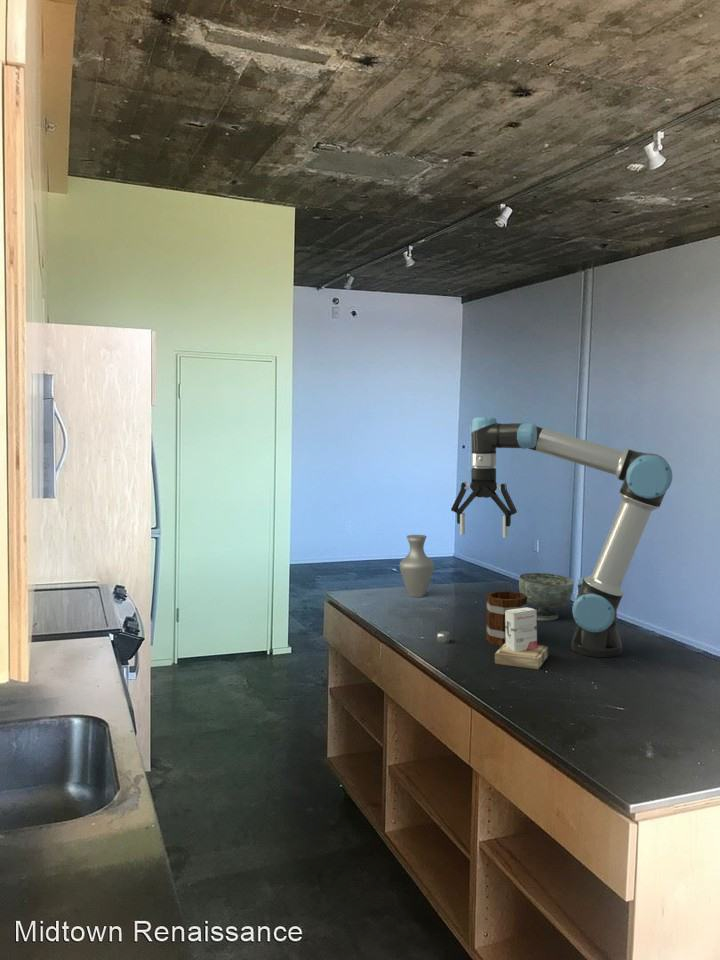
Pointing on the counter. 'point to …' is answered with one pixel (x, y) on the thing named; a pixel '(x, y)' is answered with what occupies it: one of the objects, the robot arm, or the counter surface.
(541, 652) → the stand
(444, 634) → the silver metal dome
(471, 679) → the counter surface
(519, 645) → the ink box
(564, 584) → the bowl
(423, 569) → the vase
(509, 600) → the mug
